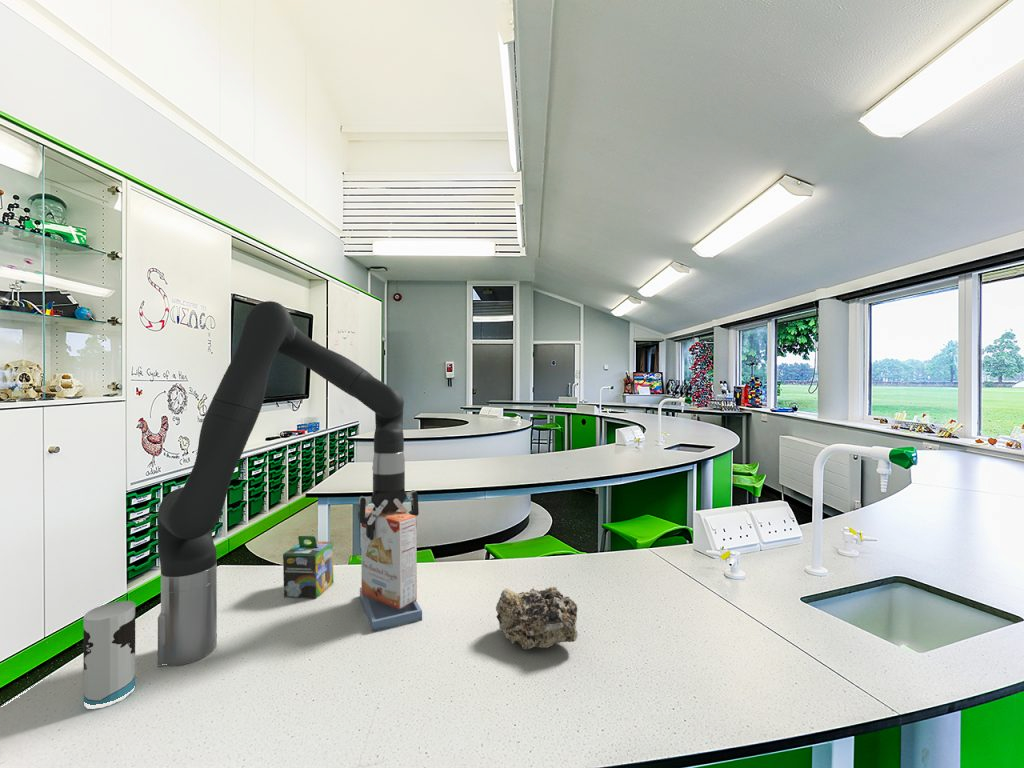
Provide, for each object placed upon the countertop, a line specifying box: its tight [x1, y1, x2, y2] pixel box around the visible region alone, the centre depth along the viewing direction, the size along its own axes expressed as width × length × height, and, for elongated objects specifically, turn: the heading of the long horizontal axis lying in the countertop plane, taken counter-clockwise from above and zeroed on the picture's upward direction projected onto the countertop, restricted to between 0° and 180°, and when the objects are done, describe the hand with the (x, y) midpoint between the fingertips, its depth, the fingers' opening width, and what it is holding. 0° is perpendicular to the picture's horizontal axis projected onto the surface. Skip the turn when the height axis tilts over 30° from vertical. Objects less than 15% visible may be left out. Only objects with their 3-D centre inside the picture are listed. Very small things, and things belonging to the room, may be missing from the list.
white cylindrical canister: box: [82, 600, 136, 705], centre depth 78 cm, size 7×7×15 cm
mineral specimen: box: [495, 586, 579, 650], centre depth 97 cm, size 16×18×10 cm
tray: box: [359, 586, 423, 633], centre depth 109 cm, size 11×19×2 cm, turn 27°
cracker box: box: [360, 508, 418, 610], centre depth 109 cm, size 14×6×21 cm, turn 56°
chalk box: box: [282, 535, 335, 600], centre depth 118 cm, size 9×9×15 cm
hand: (388, 536), depth 109 cm, fingers closed on cracker box, 8 cm apart
